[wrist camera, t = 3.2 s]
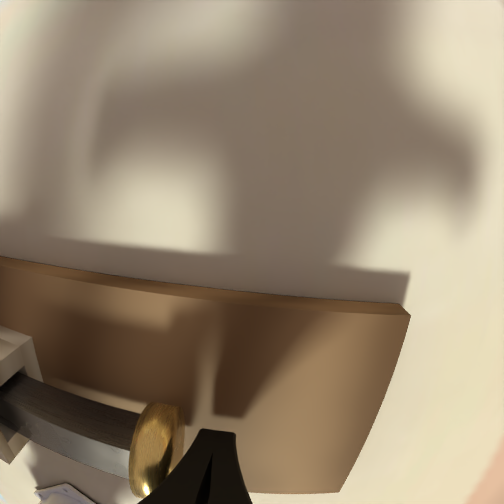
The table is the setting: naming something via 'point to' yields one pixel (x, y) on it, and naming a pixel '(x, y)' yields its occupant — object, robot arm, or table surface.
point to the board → (209, 363)
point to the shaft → (97, 431)
